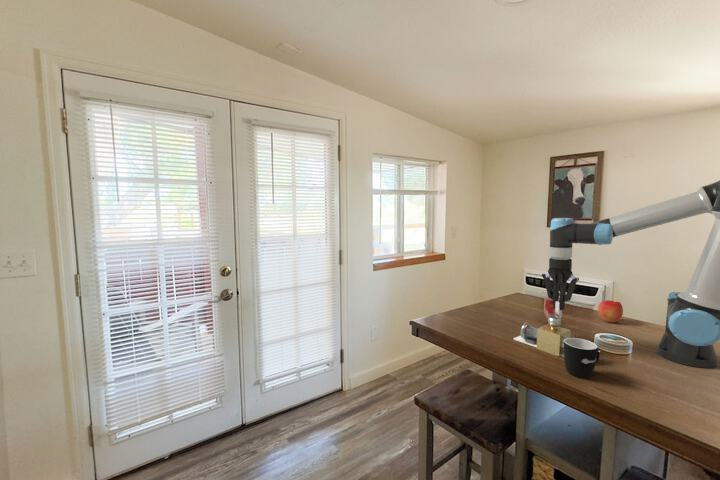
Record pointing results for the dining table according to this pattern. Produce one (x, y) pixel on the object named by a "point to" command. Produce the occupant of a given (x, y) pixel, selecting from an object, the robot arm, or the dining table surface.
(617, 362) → the dining table surface
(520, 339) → the board
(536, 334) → the valve
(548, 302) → the lever
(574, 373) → the mug
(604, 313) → the apple
